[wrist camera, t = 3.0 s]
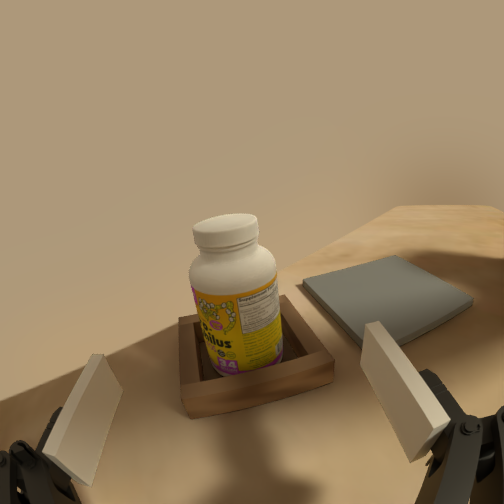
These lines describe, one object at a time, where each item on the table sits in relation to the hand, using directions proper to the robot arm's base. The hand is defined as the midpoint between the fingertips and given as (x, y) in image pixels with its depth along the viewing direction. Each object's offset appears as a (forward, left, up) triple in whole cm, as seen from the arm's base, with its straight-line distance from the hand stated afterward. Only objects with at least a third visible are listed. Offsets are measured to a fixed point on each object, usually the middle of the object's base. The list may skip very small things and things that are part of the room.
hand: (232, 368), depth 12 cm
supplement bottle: (-2, -9, -8) cm, 13 cm away
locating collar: (-2, -9, -8) cm, 12 cm away
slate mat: (-20, -12, -8) cm, 25 cm away
